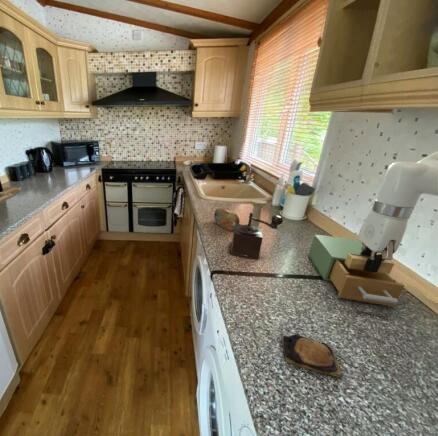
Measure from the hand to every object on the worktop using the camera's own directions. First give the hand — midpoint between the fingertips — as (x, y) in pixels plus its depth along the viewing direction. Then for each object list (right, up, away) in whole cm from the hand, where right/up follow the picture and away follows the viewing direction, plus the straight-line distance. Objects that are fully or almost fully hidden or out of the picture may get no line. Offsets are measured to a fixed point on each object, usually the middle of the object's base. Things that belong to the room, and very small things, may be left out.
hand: (366, 266), depth 72 cm
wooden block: (0, 0, 0) cm, 0 cm away
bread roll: (-28, -17, -16) cm, 37 cm away
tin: (-26, +10, +48) cm, 56 cm away
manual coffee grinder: (-23, +1, +26) cm, 35 cm away
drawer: (0, -8, +3) cm, 9 cm away
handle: (-15, +8, +44) cm, 47 cm away
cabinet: (+3, -4, +15) cm, 16 cm away
